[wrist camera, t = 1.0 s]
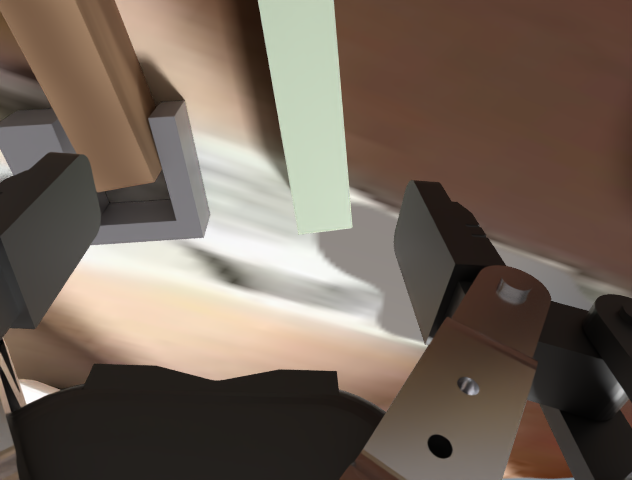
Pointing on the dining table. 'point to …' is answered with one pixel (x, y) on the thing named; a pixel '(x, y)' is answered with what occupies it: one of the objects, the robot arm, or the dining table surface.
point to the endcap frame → (116, 218)
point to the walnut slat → (91, 84)
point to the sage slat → (309, 109)
